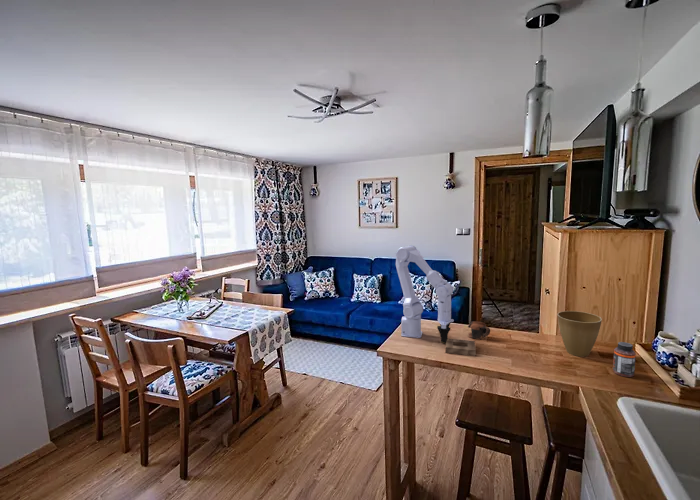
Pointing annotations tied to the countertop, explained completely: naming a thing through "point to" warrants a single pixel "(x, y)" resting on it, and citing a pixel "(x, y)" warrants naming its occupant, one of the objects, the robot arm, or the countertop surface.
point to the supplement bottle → (624, 360)
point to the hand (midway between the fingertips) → (444, 338)
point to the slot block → (460, 347)
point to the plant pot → (579, 331)
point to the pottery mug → (478, 330)
